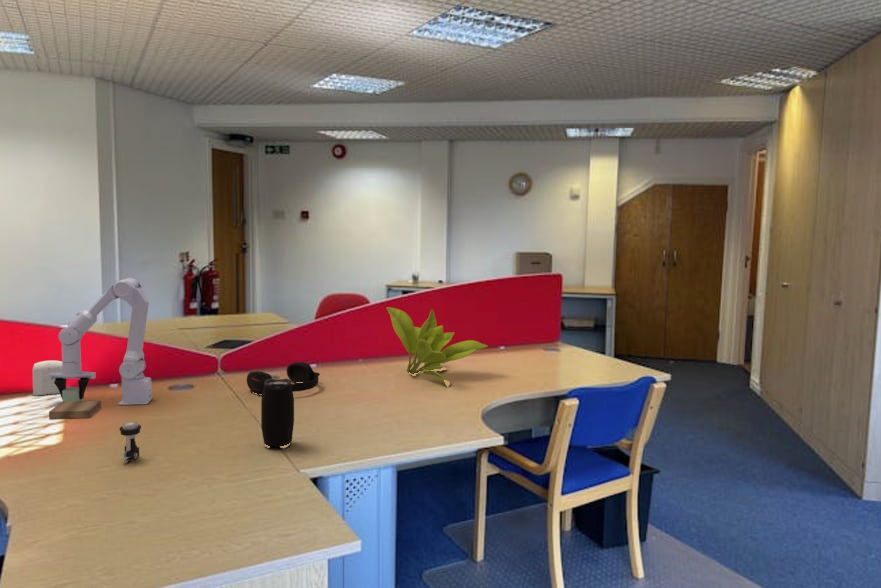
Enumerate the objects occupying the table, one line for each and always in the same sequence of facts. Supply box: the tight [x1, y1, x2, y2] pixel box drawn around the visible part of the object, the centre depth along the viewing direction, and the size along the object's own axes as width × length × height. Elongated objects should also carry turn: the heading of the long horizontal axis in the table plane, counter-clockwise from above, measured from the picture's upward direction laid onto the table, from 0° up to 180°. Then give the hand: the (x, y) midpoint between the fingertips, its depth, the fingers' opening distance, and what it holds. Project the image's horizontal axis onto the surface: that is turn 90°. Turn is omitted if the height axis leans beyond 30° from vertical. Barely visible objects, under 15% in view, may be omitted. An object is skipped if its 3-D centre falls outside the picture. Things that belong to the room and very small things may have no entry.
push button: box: [119, 421, 142, 464], centre depth 177 cm, size 7×5×10 cm
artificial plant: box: [386, 306, 489, 384], centre depth 280 cm, size 42×43×30 cm
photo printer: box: [32, 359, 63, 397], centre depth 238 cm, size 10×4×12 cm, turn 123°
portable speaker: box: [260, 378, 295, 446], centre depth 192 cm, size 9×9×20 cm
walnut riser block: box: [48, 400, 102, 420], centre depth 217 cm, size 12×12×3 cm
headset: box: [246, 361, 321, 394], centre depth 255 cm, size 28×26×9 cm
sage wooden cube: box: [61, 386, 84, 402], centre depth 228 cm, size 5×5×5 cm
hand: (73, 398), depth 228 cm, fingers closed on sage wooden cube, 5 cm apart
